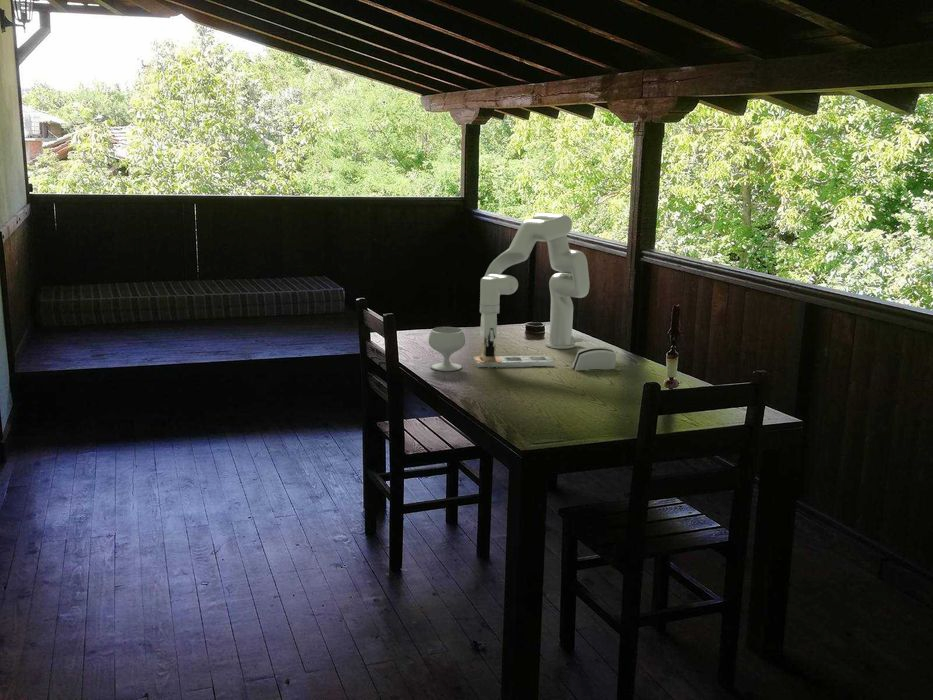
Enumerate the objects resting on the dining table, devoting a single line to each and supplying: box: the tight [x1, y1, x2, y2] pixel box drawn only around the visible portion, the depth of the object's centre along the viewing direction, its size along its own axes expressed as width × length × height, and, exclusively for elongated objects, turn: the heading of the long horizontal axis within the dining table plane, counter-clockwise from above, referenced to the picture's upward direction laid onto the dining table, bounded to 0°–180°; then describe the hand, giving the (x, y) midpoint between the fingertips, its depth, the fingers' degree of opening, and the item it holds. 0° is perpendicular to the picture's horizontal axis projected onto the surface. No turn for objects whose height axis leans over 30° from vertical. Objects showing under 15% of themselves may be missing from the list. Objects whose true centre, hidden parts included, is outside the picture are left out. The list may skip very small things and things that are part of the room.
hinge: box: [571, 346, 617, 371], centre depth 338 cm, size 17×5×10 cm, turn 106°
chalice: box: [428, 326, 466, 372], centre depth 335 cm, size 14×14×15 cm
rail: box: [473, 354, 555, 369], centre depth 345 cm, size 30×10×2 cm, turn 99°
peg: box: [481, 341, 497, 361], centre depth 342 cm, size 4×4×8 cm
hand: (488, 354), depth 343 cm, fingers closed on peg, 4 cm apart
